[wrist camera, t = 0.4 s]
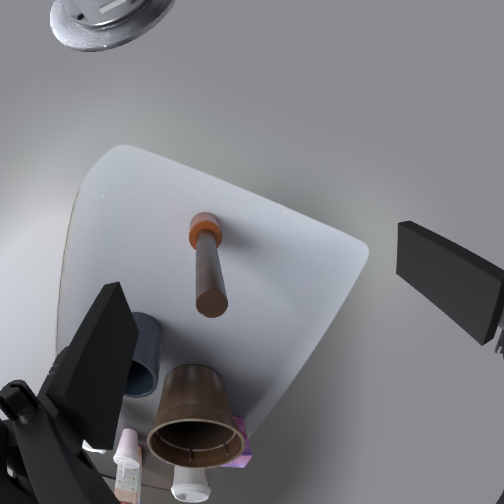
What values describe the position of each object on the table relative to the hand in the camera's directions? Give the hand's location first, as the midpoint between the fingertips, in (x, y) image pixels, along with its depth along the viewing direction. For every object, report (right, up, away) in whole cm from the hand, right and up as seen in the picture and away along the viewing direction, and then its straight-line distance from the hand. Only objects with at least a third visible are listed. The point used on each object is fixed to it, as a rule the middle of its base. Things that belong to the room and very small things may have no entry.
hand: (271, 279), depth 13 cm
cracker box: (-34, -55, +47) cm, 80 cm away
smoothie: (-31, -43, +44) cm, 69 cm away
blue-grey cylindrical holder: (-21, -13, +35) cm, 43 cm away
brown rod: (-8, +5, +31) cm, 33 cm away
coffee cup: (-18, -51, +49) cm, 73 cm away
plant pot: (-13, -25, +41) cm, 50 cm away
